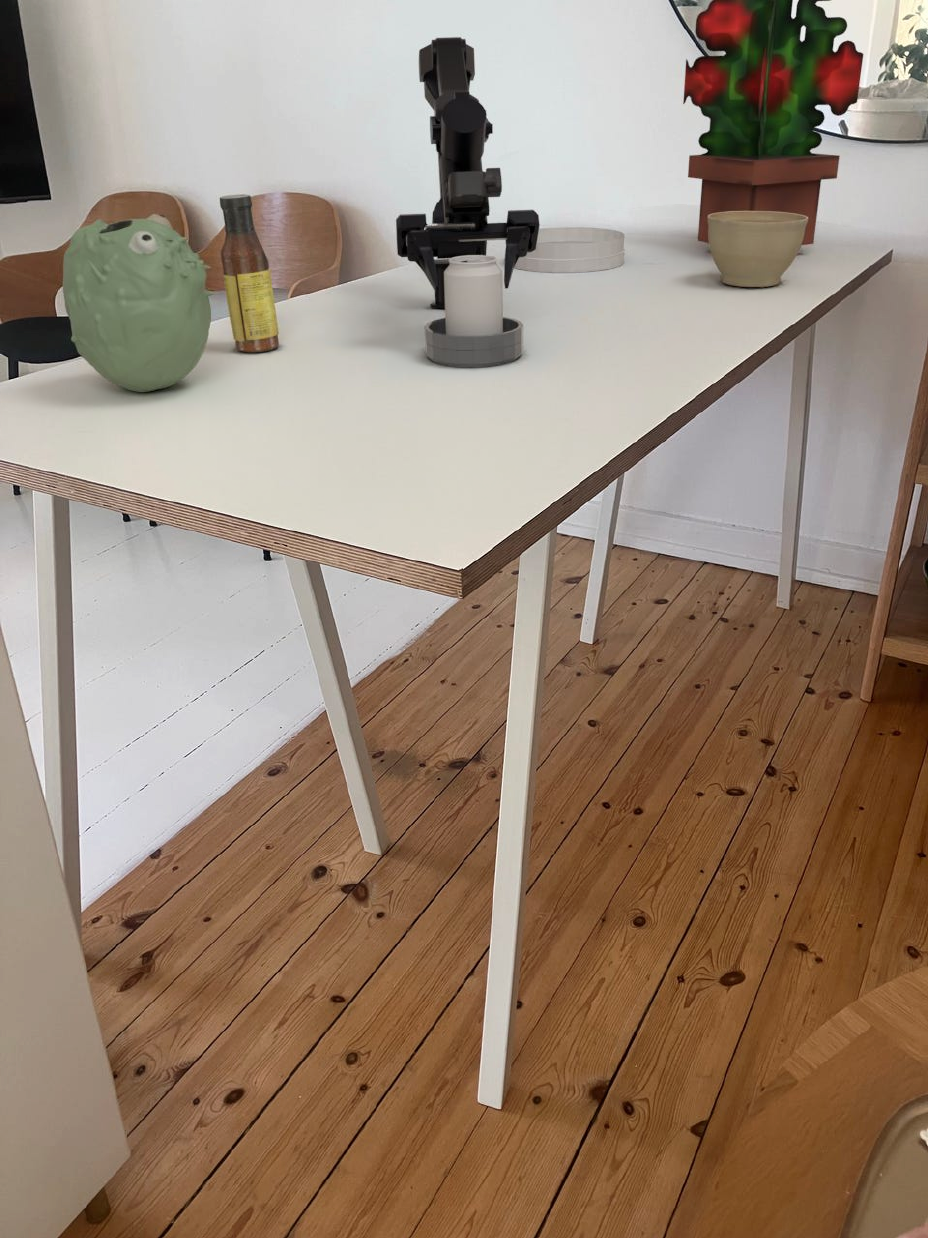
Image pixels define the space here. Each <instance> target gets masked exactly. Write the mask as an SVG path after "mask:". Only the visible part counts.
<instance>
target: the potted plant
mask: <svg viewBox="0 0 928 1238" xmlns="http://www.w3.org/2000/svg"><path fill="white" fill-rule="evenodd" d="M793 1H794V0H711V1H710V2H709V3H708V6H707V9H705V10H704V11H701V12H700V13H698V14H697V17H696V20H695V36H696V38H697V39H699V40H700V41H703V42H704V44H705V47H706V49H707V50H708V51H710V52H724V54H723V55H701V56H699V57H697V58H695V60H694V62H693V64H692V66H690V63H689V61H688V59H687V58H685V71H684V86H683V87H684V88H683V102H682V104H683V105H685V103H686V101H687V99H688V98H689V97H690V100H691V101H690V102H691V104H692V105H693V106H695V107H698V108H699V109H700V112H701V115H702V116H704V117H705V118H708V119H709V130H708V131H706V132H703V133H701V134H700V136H699V138H698V145H699V146H700V148H702V149H704V150H707V151H706V152H704V153H701V154H691V155H689V157H688V169H687V171H688V173H687V178H689V179H690V178H691V179H696V180H697V179H698V180H701V189H700V203H699V216H698V227H697V228H698V231H697V242H700V243H706V244H709V240H708V215H709V214H713V213H718V212H728V211H774V212H787V213H794V214H800V215H804V216H807V217H808V222H807V225H806V227H805V233H804V237H803V241H802V244H801V246H809V245H814V241H815V234H816V227H817V226H816V225H817V217H818V211H819V210H818V209H819V202H820V201H819V200H820V191H821V183H822V181H823V180H835V179H836V180H837V179H838V172H839V166H840V165H839V164H840V158H841V157H840V155H838V154H826V153H825V154H824V153H813V152H811V150H813V149H817V148H818V147H819V146H820V145H821V144H822V142H823V138H822V135H821V134H820V132H818V131H815V130H814V128H817V127H820V126H821V125H822V124H823V123H824V122H825V119H826V117H825V113H824V112H823V111H822V110H820V109H817V108H816V107H817V106H829V107H830V112H831V113H832V115H834V116H837V117H840V116H843V115H844V114H846V113H847V111H848V110H849V107H850V106H851V105H855V104H857V103H858V98H859V91H860V85H861V84H860V83H861V75H862V68H863V62H864V61H863V60H864V53H863V52H861V51H859V50H857V46H856V44H855V42H853V40H845V41H842V42H841V43H840V44H839V45H838V48H837V50H836V51H834V45H835V44H834V43H835V39H836V38H837V37H839V36H841V35H843V34H845V32H846V31H847V29H848V22H847V20H846V19H845V18H844V17H841V16H832V17H831V16H830V17H828V16H827V14H826V11H825V9H824V7H822V6H820V5H817V3H818V2H830V1H831V0H798V1H797V3H796V10H795V16H794V17H792V14H793V13H792V11H793V3H794V2H793ZM803 27H804V28H805V31H804V39H803V40H801V36H802V35H801V33H802V28H803Z"/></svg>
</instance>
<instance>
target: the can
mask: <svg viewBox="0 0 928 1238" xmlns="http://www.w3.org/2000/svg"><path fill="white" fill-rule="evenodd" d="M448 259H449V260H448V261H449V262H450V265H449V266H448V267H447V269H446V270H445V271H444V292H445V308H444V318H445V323H446V334H448V335H458V336H479V335H491V334H499V333H503V317H504V303H503V302H504V300H503V299H504V298H503V294H504V292H503V289H504V287H503V286H504V277H503V269H502V268H501V267H500V266H499V265H498V263H497V261H498V258H497V257H496V256H493V255H488V254H486V255H465V256H457V257H453V258H448Z"/></svg>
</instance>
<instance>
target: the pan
mask: <svg viewBox="0 0 928 1238" xmlns="http://www.w3.org/2000/svg"><path fill="white" fill-rule="evenodd" d="M423 327H424V349H425V351H424V352H425V355H426V357H427V358H429V359H430V360H431V362H434V363H435V364H439V365H442V366H447V367H455V368H486V367H487V368H488V367H495V366H500V365H505V364H509V363H511V362H514V361H516V360H518V359H519V357H521V355H523V352H524V324H523V322H522V321H520V320H518V319H515V318H512V317H507V316H503V333H499V334H491V335H479V336H458V335H448V334H446V323H445V317H443V318H439V319H435V320H433V321H430V322H428V323H426V324H425V325H424V326H423Z"/></svg>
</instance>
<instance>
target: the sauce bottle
mask: <svg viewBox="0 0 928 1238" xmlns="http://www.w3.org/2000/svg"><path fill="white" fill-rule="evenodd" d="M219 206H220V208H221V209H220V210H222V214H223V215H222V216H223V221H224V222H223V223H224V231H225V237H224V242H223V244H222V247H221V250H220V259H221V265H222V270H223V273H222V276H223V282H224V288H225V294H226V295H225V296H226V299H227V300H226V302H227V307H228V313H229V320H230V325H231V332H232V339H233V340H234V342H235V343H234V344H235V349H236V350H237V351H238V352H243V353H263V352H269V351H272V350H275V349H276V348H278V347H279V346H280V342H279V333H280V332H279V331H280V330H279V325H278V317H277V311H276V304H275V299H274V290H273V283H272V276H271V269H270V263H269V259H268V257H267V255H266V253H265V251H264V248H263V246H262V243H261V241H260V239H259V236H258V234H257V232H256V229H255V224H254V220H253V211H252V207H253V202H252V195H250V194H244V193H242V194H229V195H228V194H227V195H223V196H219Z"/></svg>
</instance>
